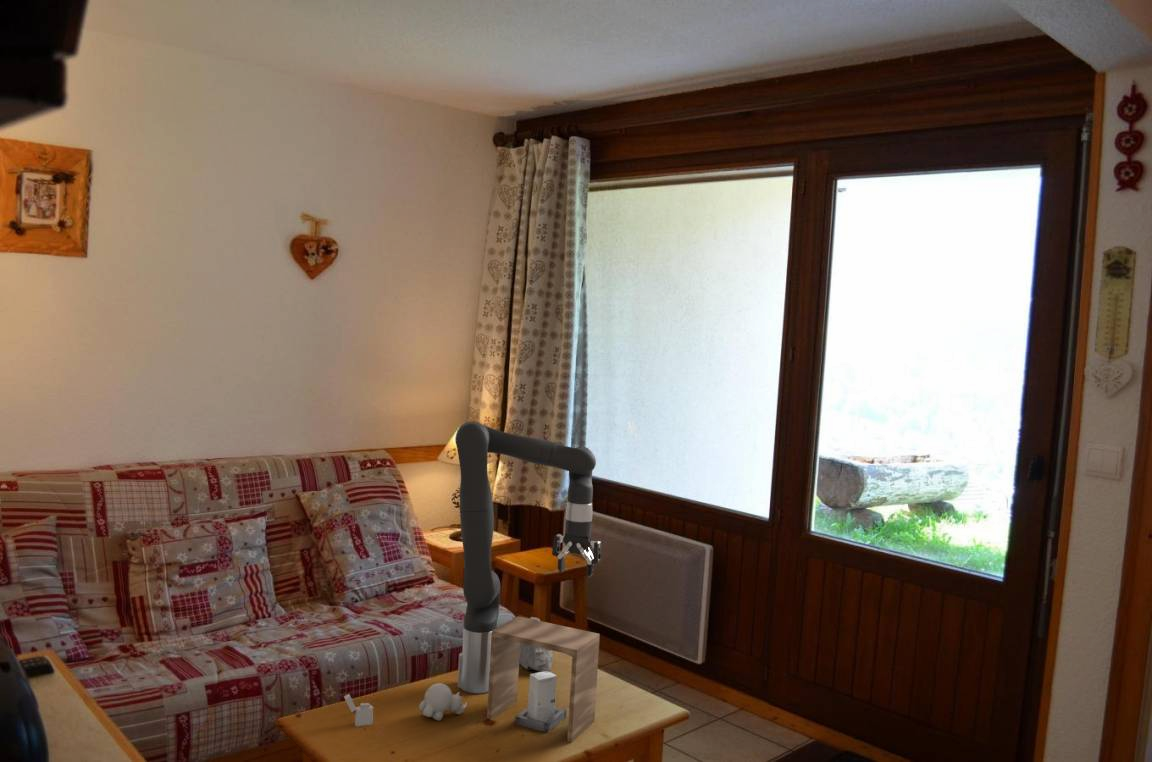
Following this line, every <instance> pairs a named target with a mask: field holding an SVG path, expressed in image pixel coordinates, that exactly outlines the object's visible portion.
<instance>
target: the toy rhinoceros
mask: <svg viewBox="0 0 1152 762" xmlns="http://www.w3.org/2000/svg"><path fill="white" fill-rule="evenodd" d="M460 693H461V692H460V691H458V692H457V693H456V694H455V693H454V694H453V693H452V690H451V688H450V687H449V686H448V684H447V685H446V684H445V683H439V682H437V683H433V684H431V685H430V686H429V687H428V688H427V689H426V691H425V693H424V699H423V700H421V702H420V703H419V705H418V710H419V711H421V712H422V715H423V716H425V717H427V718H432V719H434V720H436V721H441V720H442V719H443V717H444V712H445V711H447V710H448V711H451V712H453V713H454V714H455V715H461V714H462V713H463V712H464V710H465V709H466V707H467V705H468V704H467V701H466V702H465V703H463V699H464V696H460Z"/></svg>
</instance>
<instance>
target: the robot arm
mask: <svg viewBox="0 0 1152 762" xmlns="http://www.w3.org/2000/svg"><path fill="white" fill-rule="evenodd" d="M456 431H457V432H456V434H455V445H456V450H457V451H456V452H457V455H458V461H459V470H460V486H459V517H460V528H461V529H460V530H461V539H462V540H461V542H462V551H463V555H464V558H463V559H464V561H463V562H464V566H463V571H464V572H463V585H462V586H463V588H462V589H463V591H462V592H463V597H464V599H465V601H466V602H467V603H466V610H465V615H464V618H463V629H462V630H463V632H462V651H461V652H460V653H459V655H458V668H457V669H458V671H457V673H458V674H457V688H460V689H461V690H462V691H464V692H466V693H470V694H485V693H488V690H489V671H490V653H491V634H492V630H494V629H496V628H498V627H497V623H498V619H499V614H500V601H501V599H500V598H501V581H500V578H499V576H498V574H497V573H496V572H495V571H494V570H492V563H491V553H492V544H493V538H494V528H495V517H494V515H495V514H494V503H493V494H492V490H491V485H490V480H489V475H488V473H489V472H488V453H491V454H497V455H504V456H507V457H511V458H515V459H518V460H522V461H524V462H527V463H531V464H532V463H533V464H537V465H541V466H545V467H553V468H558V469H560V470H564V471H567V472H568V481H569V482H568V489H567V501H566V502H567V504H566V507H565V520H564V522H565V524H564V535H562V534H561V533H558V534H556V535H554V536H553V543H552V552H551V555H552V556H553V557H556V558H557V570H558V571H559V572H560V573H563V572H565V568H566V566H565V565H566V558H565V557H566V556H567V554H568V553H570V554H576V555H582V557H583V558H584V559H585V561H586V562H587V564H586V572H585V573H586V574H585V575H586V578H591V577H592V576H593V575H594V571H595V570H594V569H595V568H594V567H595V564H598V563H601V561H602V541H601V540H597V541H596V540H595V541H594V540H592V538H591V536H592V526H593V525H592V524H593V496H594V495H593V494H594V487H593V483H592V482H593V470H594V469H595V468H596V466H597V458H596V456H595V454H594V453H593V452H592V450H591V449H589V448H588V447H586V446H581V445H580V446H577V447H572V446H566V445H563V444H561V443H559V442H556V441H551V440H546V439H541V438H537V437H530V436H523V435H518V434H513V433H509V432H505V431H502V430H498V429H495V428H493V427H490V426H488V425H484V424H482V423H481V422H479V421H473V420H470V421H466V422H465V423H463V424H461V425H460V427H459V428H458V429H457V430H456ZM562 543H564V545H565V546H564V547H563V549H561V544H562ZM590 547H591V548H592V549H593V552H592V551H591V549H590Z"/></svg>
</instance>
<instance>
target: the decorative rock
mask: <svg viewBox="0 0 1152 762" xmlns="http://www.w3.org/2000/svg"><path fill="white" fill-rule="evenodd" d="M529 619H533V620H538V621H541V620H540V618H538V617H534V616H531V617H529ZM553 652H554V651H553V650H548V649H544V648H539V647H535V646H531V645H526V644H522V643H520V656H519V665H521V666H522V667H523V668H524V669H525V670H527V671H529V670H536V671H541V672H545V671H549V672H551V670H552V666H553V657H554V655H553Z"/></svg>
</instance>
